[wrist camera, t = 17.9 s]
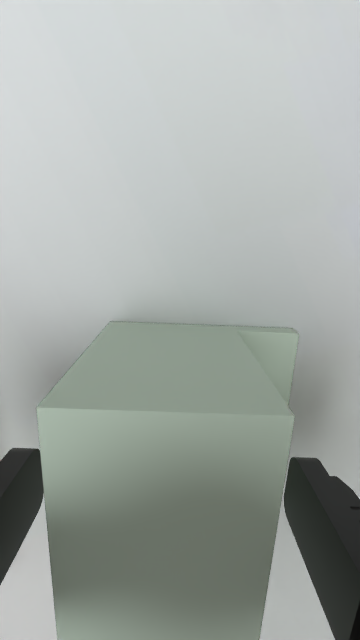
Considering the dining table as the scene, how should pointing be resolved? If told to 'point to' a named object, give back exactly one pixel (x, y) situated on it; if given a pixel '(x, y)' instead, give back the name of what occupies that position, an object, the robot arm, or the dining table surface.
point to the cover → (167, 480)
